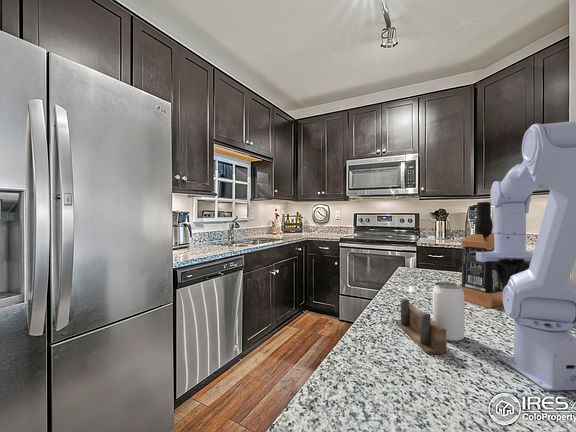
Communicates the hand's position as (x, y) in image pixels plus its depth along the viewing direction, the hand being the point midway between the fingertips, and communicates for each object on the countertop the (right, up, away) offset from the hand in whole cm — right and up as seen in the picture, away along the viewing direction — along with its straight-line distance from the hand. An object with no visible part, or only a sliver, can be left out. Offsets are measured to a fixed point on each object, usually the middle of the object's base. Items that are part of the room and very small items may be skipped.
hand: (509, 292), depth 65 cm
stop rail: (-20, -11, +1) cm, 23 cm away
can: (-14, -11, +1) cm, 17 cm away
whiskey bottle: (+12, -10, +25) cm, 30 cm away
